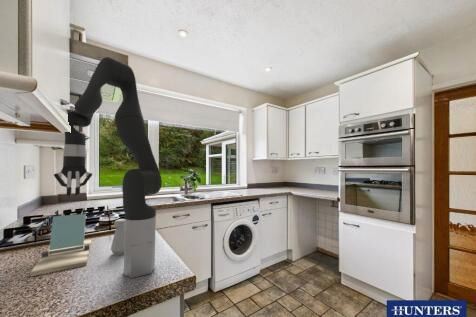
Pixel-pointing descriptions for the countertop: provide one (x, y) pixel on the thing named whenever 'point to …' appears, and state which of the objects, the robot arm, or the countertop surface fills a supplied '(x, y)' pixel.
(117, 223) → the salt shaker
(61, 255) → the board
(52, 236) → the tile
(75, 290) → the countertop surface
